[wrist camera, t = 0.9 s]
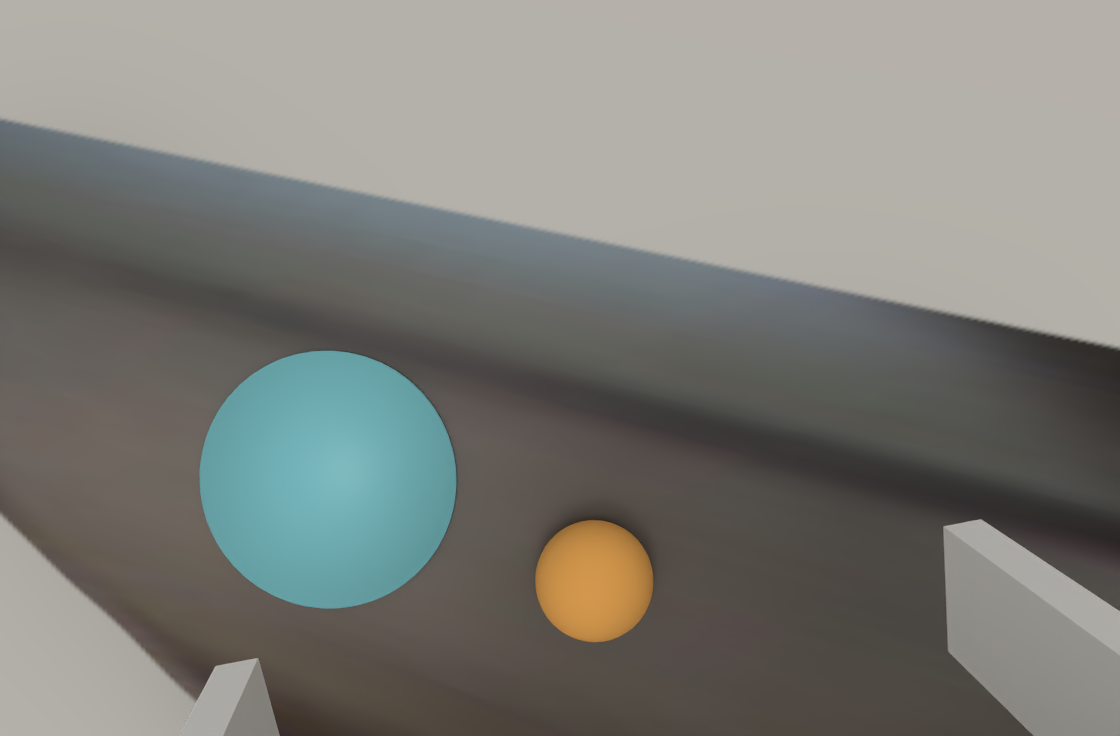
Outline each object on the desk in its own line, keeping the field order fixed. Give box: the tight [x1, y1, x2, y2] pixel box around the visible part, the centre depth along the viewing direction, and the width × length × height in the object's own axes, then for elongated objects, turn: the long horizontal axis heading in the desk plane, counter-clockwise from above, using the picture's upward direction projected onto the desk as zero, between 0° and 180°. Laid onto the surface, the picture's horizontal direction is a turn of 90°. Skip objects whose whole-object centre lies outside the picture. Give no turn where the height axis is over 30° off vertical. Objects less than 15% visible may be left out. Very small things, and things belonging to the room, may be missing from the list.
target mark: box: [200, 351, 457, 608], centre depth 40 cm, size 13×13×1 cm
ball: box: [535, 520, 653, 642], centre depth 37 cm, size 6×6×6 cm
